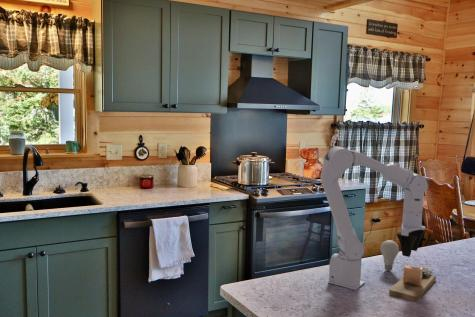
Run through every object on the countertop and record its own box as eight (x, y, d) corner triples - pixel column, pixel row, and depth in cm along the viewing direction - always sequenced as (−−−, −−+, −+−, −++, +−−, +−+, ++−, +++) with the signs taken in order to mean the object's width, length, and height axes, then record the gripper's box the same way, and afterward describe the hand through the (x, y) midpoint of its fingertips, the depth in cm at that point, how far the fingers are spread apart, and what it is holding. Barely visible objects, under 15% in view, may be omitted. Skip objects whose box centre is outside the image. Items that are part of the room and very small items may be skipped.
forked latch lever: (402, 282, 141) (403, 267, 140) (416, 269, 153) (417, 255, 153) (419, 286, 138) (420, 271, 137) (432, 272, 150) (433, 258, 150)
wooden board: (388, 294, 136) (389, 289, 136) (410, 274, 153) (410, 270, 153) (416, 301, 131) (416, 296, 131) (435, 280, 148) (435, 275, 148)
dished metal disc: (413, 274, 148) (413, 268, 148) (416, 271, 152) (417, 265, 151) (425, 277, 146) (426, 271, 146) (429, 274, 149) (429, 268, 149)
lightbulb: (401, 273, 154) (403, 242, 153) (387, 275, 152) (389, 243, 151) (389, 267, 160) (391, 237, 159) (375, 269, 157) (377, 238, 156)
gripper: (419, 217, 133) (416, 261, 135) (432, 209, 145) (429, 250, 146) (395, 213, 137) (392, 256, 139) (409, 206, 149) (407, 245, 150)
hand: (409, 253), depth 143 cm, fingers open, 7 cm apart
